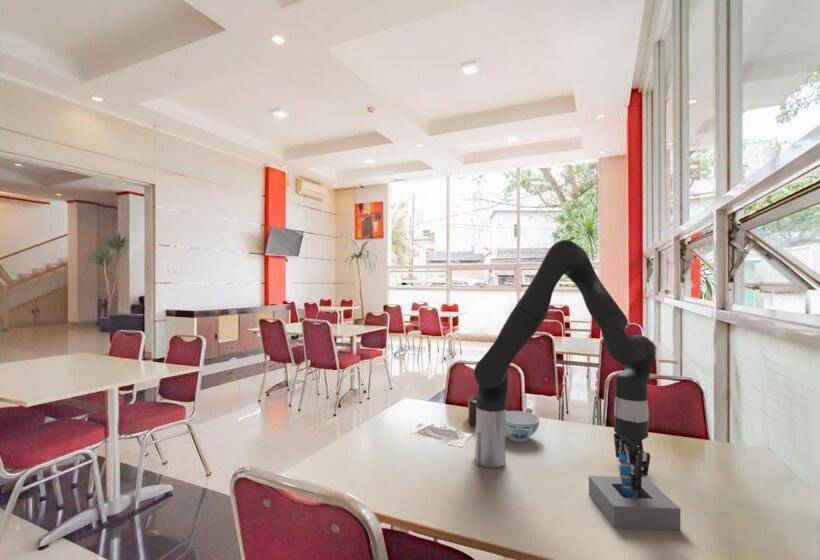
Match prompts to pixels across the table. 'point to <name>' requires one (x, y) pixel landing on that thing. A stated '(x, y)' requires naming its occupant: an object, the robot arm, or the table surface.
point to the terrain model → (439, 434)
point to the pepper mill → (472, 410)
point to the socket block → (634, 505)
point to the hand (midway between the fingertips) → (630, 483)
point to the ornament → (627, 477)
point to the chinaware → (521, 425)
